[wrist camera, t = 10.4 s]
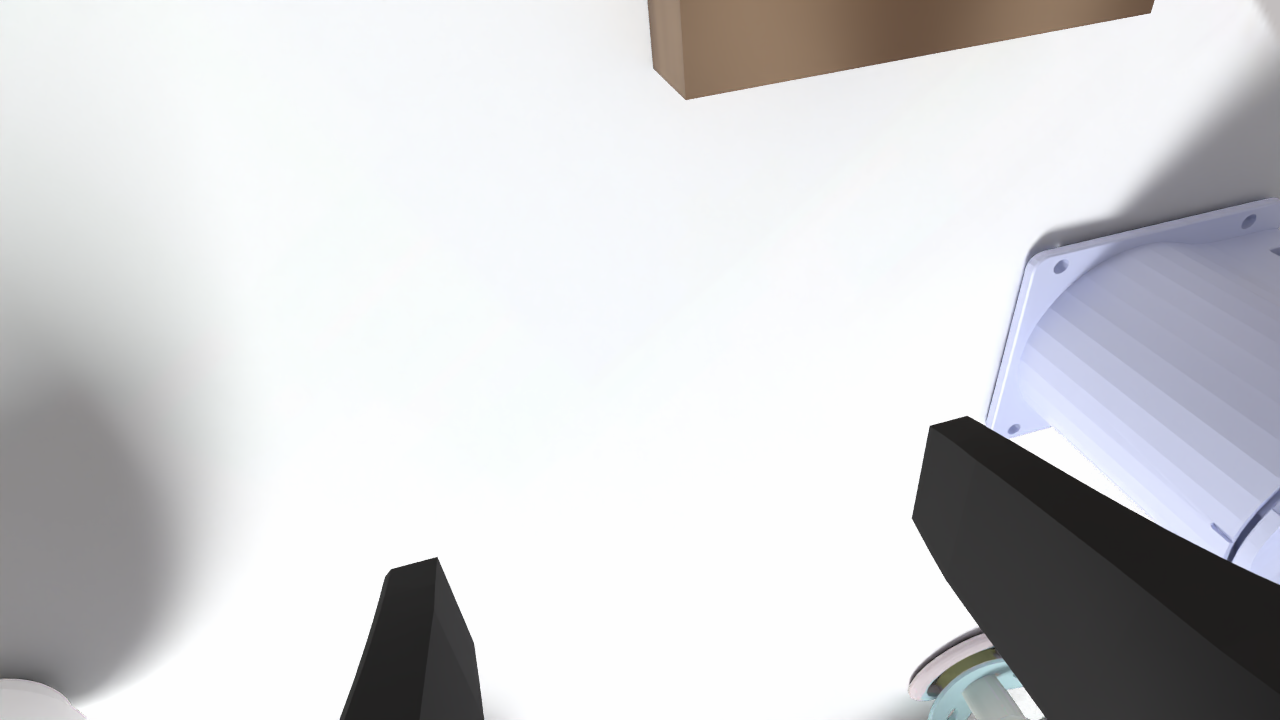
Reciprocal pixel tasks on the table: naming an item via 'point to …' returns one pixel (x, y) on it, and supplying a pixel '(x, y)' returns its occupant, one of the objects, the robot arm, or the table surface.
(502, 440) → the table surface
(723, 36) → the walnut base
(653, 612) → the table surface
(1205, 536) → the robot arm
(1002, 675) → the pacifier
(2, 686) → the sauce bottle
